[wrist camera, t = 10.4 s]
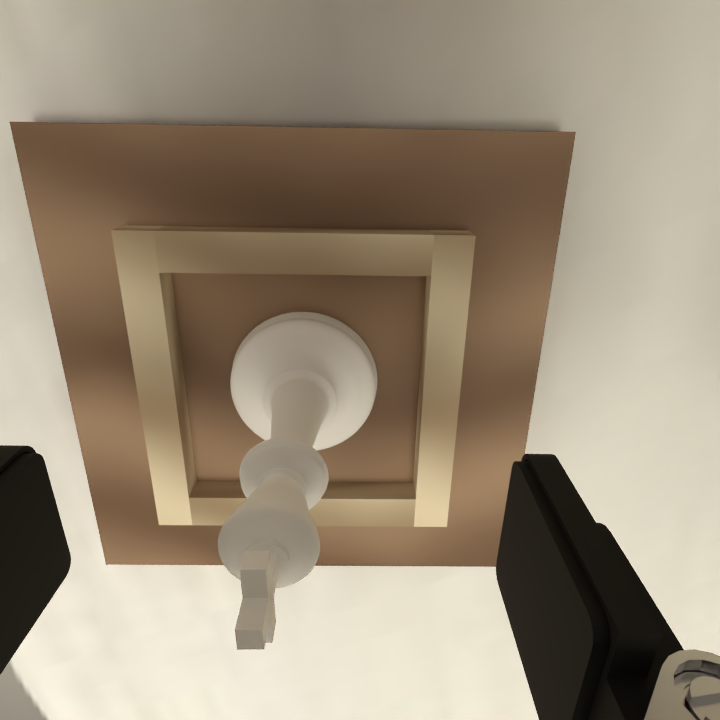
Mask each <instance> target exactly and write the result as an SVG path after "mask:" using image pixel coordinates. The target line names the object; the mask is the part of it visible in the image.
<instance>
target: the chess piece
mask: <svg viewBox="0 0 720 720" xmlns="http://www.w3.org/2000/svg"><path fill="white" fill-rule="evenodd" d="M230 387H231V395H232V399H233V402H234V405H235V408H236V410H237V412H238V414H239V415H240V417H241V418H242V420H243V421H244V423H245V424H246V425H247V426H248V427H249V428H250V429H251V430H252V431H253V432H254V433H255V434H257V435H258V436H259V437H261V438H262V439H264V440H265V441H263V442H261V443H259V444H257V445H255V446H254V447H253V448H251V449H250V450H249V451H248V452H247V454H246V455H245V457H244V458H243V460H242V463H241V466H240V472H239V476H240V483H241V488H242V491H243V493H244V495H245V496H246V498H247V500H246V501H245V502H244V503H242V504H241V505H240V506H239V507H238V508H237V509H236V510H235V511H234V512H233V513H232V514H231V515H230V516H229V518H228V519H227V520H226V522H225V523H224V525H223V526H222V528H221V531H220V533H219V537H218V552H219V556H220V558H221V560H222V562H223V564H224V566H225V567H226V568H227V570H228V571H229V572H230V573H231V574H232V575H234V576H235V577H236V578H238V579H239V580H241V586H242V595H243V599H242V603H241V607H240V612H239V616H238V620H237V624H236V628H235V635H236V642H237V649H264V647H265V643H272V642H273V636H274V630H275V624H276V618H275V606H274V592H275V588H280V587H285V586H288V585H291V584H294V583H296V582H298V581H300V580H301V579H303V578H304V577H305V576H307V575H308V574H309V573H310V572H311V570H312V569H313V568H314V566H315V564H316V562H317V560H318V557H319V552H320V541H319V535H318V532H317V529H316V526H315V523H314V520H313V518H312V517H311V515H310V513H309V510H310V509H311V508H313V507H314V506H315V505H316V504H317V503H318V502H319V501H320V499H321V498H322V496H323V494H324V493H325V491H326V489H327V485H328V480H329V474H328V469H327V465H326V463H325V461H324V459H323V458H322V456H321V455H320V454H319V453H318V452H317V450H322V449H326V448H330V447H332V446H335V445H337V444H339V443H341V442H343V441H345V440H346V439H348V438H349V437H351V436H352V435H353V434H354V433H356V432H357V431H358V430H359V429H360V427H361V426H362V425H363V424H364V422H365V421H366V419H367V418H368V416H369V414H370V412H371V409H372V407H373V404H374V400H375V396H376V391H377V370H376V365H375V362H374V359H373V356H372V354H371V352H370V350H369V348H368V347H367V345H366V344H365V342H364V341H363V340H362V339H361V337H360V336H359V335H358V334H357V333H356V332H355V331H353V330H352V329H351V328H350V327H348V326H347V325H345V324H344V323H342V322H340V321H339V320H337V319H334V318H332V317H329V316H326V315H323V314H319V313H313V312H291V313H285V314H281V315H278V316H275V317H272V318H270V319H268V320H266V321H264V322H263V323H261V324H259V325H258V326H257V327H255V328H254V329H253V330H252V331H251V332H250V333H249V334H248V335H247V336H246V337H245V338H244V340H243V341H242V343H241V344H240V346H239V348H238V350H237V352H236V354H235V357H234V361H233V365H232V371H231V378H230Z"/></svg>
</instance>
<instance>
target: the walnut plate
mask: <svg viewBox="0 0 720 720" xmlns="http://www.w3.org/2000/svg"><path fill="white" fill-rule="evenodd" d="M10 126H11V130H12V135H13V139H14V144H15V148H16V153H17V158H18V162H19V167H20V171H21V176H22V181H23V185H24V190H25V194H26V199H27V203H28V208H29V213H30V217H31V222H32V226H33V231H34V236H35V240H36V245H37V249H38V254H39V258H40V263H41V268H42V272H43V277H44V281H45V286H46V291H47V295H48V300H49V304H50V309H51V313H52V318H53V323H54V327H55V332H56V336H57V341H58V346H59V350H60V355H61V359H62V364H63V368H64V373H65V378H66V382H67V387H68V391H69V396H70V401H71V405H72V410H73V414H74V419H75V424H76V428H77V433H78V437H79V442H80V446H81V451H82V456H83V460H84V465H85V469H86V474H87V479H88V483H89V488H90V492H91V497H92V501H93V506H94V511H95V515H96V520H97V524H98V529H99V534H100V538H101V543H102V547H103V552H104V556H105V561H106V564H124V565H224V564H223V562H222V560H221V558H220V556H219V552H218V537H219V533H220V531H221V528H222V526H223V525H224V523H225V522H226V520H227V519H228V518H229V516H230V515H231V514H232V513H233V512H234V511H235V510H236V509H237V508H238V507H239V506H240V505H241V504H242V503H244V502H245V501H246V500H247V498H246V496H245V495H244V493H243V491H242V488H241V483H240V476H239V472H240V466H241V463H242V460H243V458H244V457H245V455H246V454H247V452H248V451H249V450H250V449H251V448H253V447H254V446H255V445H257V444H259V443H261V442H263V441H265V440H264V439H262V438H261V437H259V436H258V435H257V434H255V433H254V432H253V431H252V430H251V429H250V428H249V427H248V426H247V425H246V424H245V423H244V421H243V420H242V418H241V417H240V415H239V414H238V412H237V410H236V408H235V405H234V402H233V399H232V395H231V387H230V378H231V371H232V365H233V361H234V357H235V354H236V352H237V350H238V348H239V346H240V344H241V343H242V341H243V340H244V338H245V337H246V336H247V335H248V334H249V333H250V332H251V331H252V330H253V329H254V328H255V327H257V326H258V325H259V324H261V323H263V322H264V321H266V320H268V319H270V318H272V317H275V316H278V315H281V314H285V313H291V312H313V313H319V314H323V315H326V316H329V317H332V318H334V319H337V320H339V321H340V322H342V323H344V324H345V325H347V326H348V327H350V328H351V329H352V330H353V331H355V332H356V333H357V334H358V335H359V336H360V337H361V339H362V340H363V341H364V342H365V344H366V345H367V347H368V348H369V350H370V352H371V354H372V356H373V359H374V362H375V365H376V370H377V391H376V396H375V400H374V404H373V407H372V409H371V412H370V414H369V416H368V418H367V419H366V421H365V422H364V424H363V425H362V426H361V427H360V429H359V430H358V431H357V432H356V433H354V434H353V435H352V436H351V437H349V438H348V439H346V440H345V441H343V442H341V443H339V444H337V445H335V446H332V447H330V448H326V449H322V450H317V452H318V453H319V454H320V455H321V456H322V458H323V459H324V461H325V463H326V465H327V469H328V474H329V480H328V485H327V489H326V491H325V493H324V494H323V496H322V498H321V499H320V501H319V502H318V503H317V504H316V505H315V506H314V507H313V508H311V509H310V510H309V513H310V515H311V517H312V518H313V520H314V523H315V526H316V529H317V532H318V535H319V541H320V552H319V557H318V560H317V562H316V564H315V566H494V567H496V562H497V556H498V549H499V543H500V537H501V531H502V525H503V519H504V513H505V506H506V500H507V494H508V488H509V482H510V476H511V469H512V465H513V463H514V462H515V461H521V460H522V457H523V455H524V454H525V448H526V442H527V435H528V429H529V423H530V416H531V410H532V404H533V397H534V391H535V385H536V379H537V372H538V366H539V360H540V353H541V347H542V341H543V335H544V328H545V322H546V316H547V309H548V303H549V297H550V291H551V284H552V278H553V272H554V265H555V259H556V253H557V246H558V240H559V234H560V228H561V221H562V215H563V209H564V202H565V196H566V190H567V184H568V177H569V171H570V165H571V158H572V152H573V146H574V140H575V133H576V132H549V131H494V130H438V129H383V128H327V127H271V126H216V125H160V124H105V123H49V122H10Z"/></svg>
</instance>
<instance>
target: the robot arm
mask: <svg viewBox="0 0 720 720" xmlns="http://www.w3.org/2000/svg"><path fill="white" fill-rule="evenodd" d="M70 564H71V556H70V552H69V548H68V545H67V541H66V537H65V534H64V530H63V527H62V523H61V519H60V516H59V512H58V509H57V505H56V501H55V498H54V494H53V490H52V487H51V483H50V480H49V476H48V472H47V469H46V465H45V462H44V459H43V457H42V456H41V455H40V454H38V453H36V452H35V450H34V449H33V448H32V447H30V446H0V674H1V673H2V671H3V670H4V668H5V667H6V665H7V664H8V662H9V661H10V659H11V658H12V656H13V655H14V653H15V652H16V650H17V649H18V647H19V646H20V644H21V643H22V641H23V640H24V639H25V637H26V636H27V634H28V633H29V631H30V630H31V628H32V627H33V625H34V624H35V622H36V621H37V619H38V618H39V616H40V615H41V613H42V612H43V610H44V609H45V607H46V606H47V604H48V603H49V601H50V600H51V598H52V597H53V595H54V594H55V592H56V591H57V589H58V588H59V586H60V585H61V583H62V582H63V580H64V579H65V577H66V576H67V574H68V571H69V569H70ZM496 575H497V581H498V585H499V588H500V591H501V594H502V598H503V601H504V604H505V608H506V611H507V614H508V618H509V621H510V624H511V628H512V631H513V634H514V638H515V641H516V644H517V648H518V651H519V654H520V658H521V661H522V664H523V667H524V671H525V674H526V677H527V681H528V684H529V687H530V691H531V694H532V697H533V701H534V704H535V707H536V711H537V714H538V717H539V720H720V656H718V655H715V654H713V653H709V652H704V651H699V650H684V649H683V648H682V646H681V645H680V643H679V641H678V640H677V638H676V637H675V635H674V633H673V632H672V630H671V628H670V627H669V625H668V624H667V622H666V620H665V619H664V617H663V616H662V614H661V612H660V611H659V609H658V608H657V606H656V604H655V603H654V601H653V600H652V598H651V596H650V595H649V593H648V592H647V590H646V588H645V587H644V585H643V583H642V582H641V580H640V579H639V577H638V575H637V574H636V572H635V571H634V569H633V567H632V566H631V564H630V563H629V561H628V559H627V558H626V556H625V555H624V553H623V551H622V550H621V548H620V547H619V545H618V543H617V542H616V540H615V538H614V537H613V535H612V534H611V532H610V531H609V530H608V528H607V527H606V526H605V525H603V524H601V523H596V522H595V520H594V519H593V517H592V515H591V514H590V512H589V510H588V509H587V507H586V505H585V504H584V502H583V500H582V499H581V497H580V495H579V494H578V492H577V490H576V489H575V487H574V485H573V484H572V482H571V480H570V479H569V477H568V475H567V474H566V472H565V470H564V469H563V467H562V465H561V464H560V462H559V460H558V459H557V457H556V456H555V455H552V454H525V455H523V457H522V460H521V461H515V462H514V463H513V465H512V469H511V476H510V482H509V488H508V494H507V500H506V506H505V513H504V519H503V525H502V531H501V537H500V543H499V549H498V556H497V562H496Z"/></svg>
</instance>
